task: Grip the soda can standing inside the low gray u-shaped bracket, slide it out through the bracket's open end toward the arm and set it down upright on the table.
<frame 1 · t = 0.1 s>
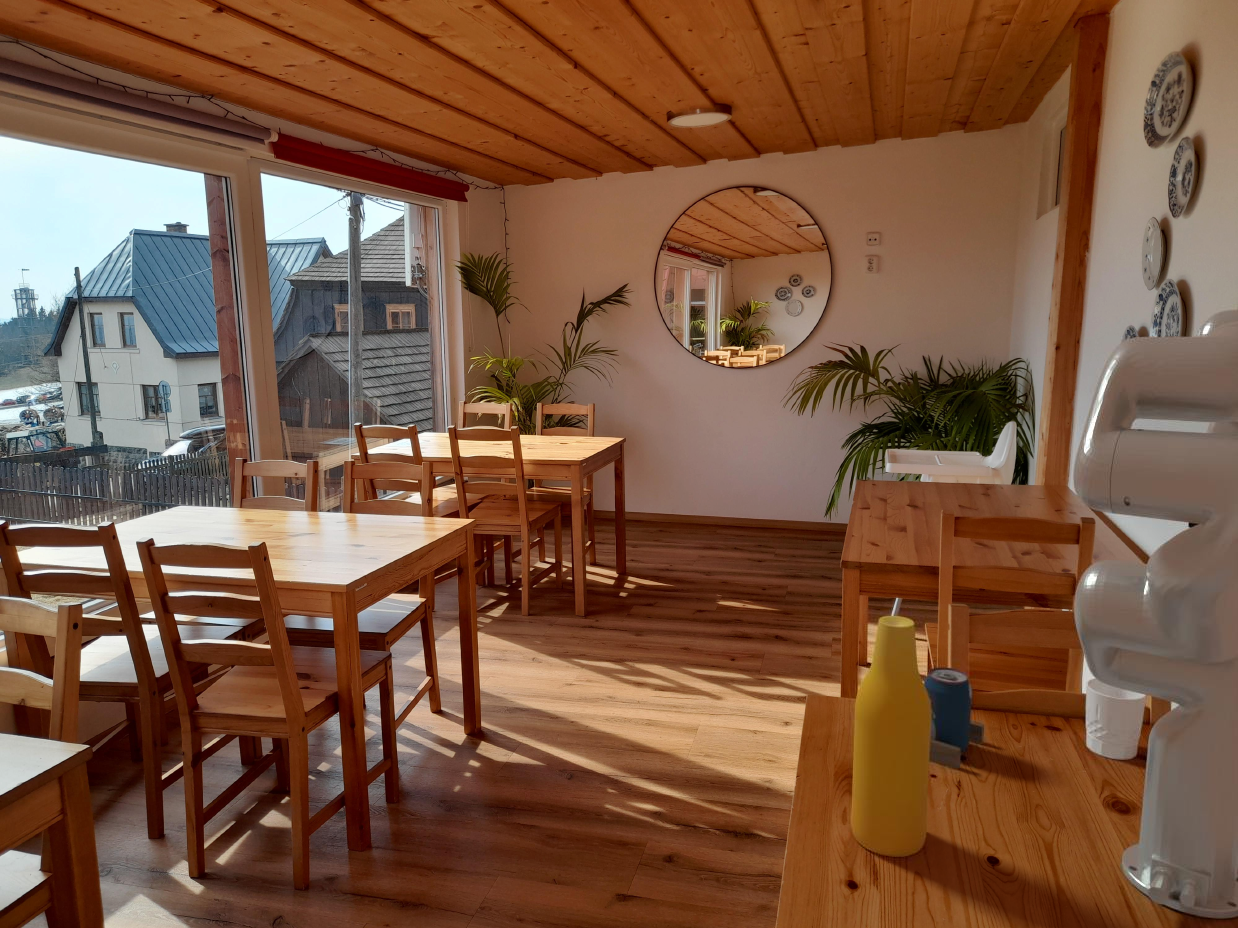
soda can: (944, 748, 131), on the table
yellow bottle: (887, 838, 108), on the table
gray u-shaped bracket: (941, 746, 131), on the table
white cup: (1110, 750, 129), on the table
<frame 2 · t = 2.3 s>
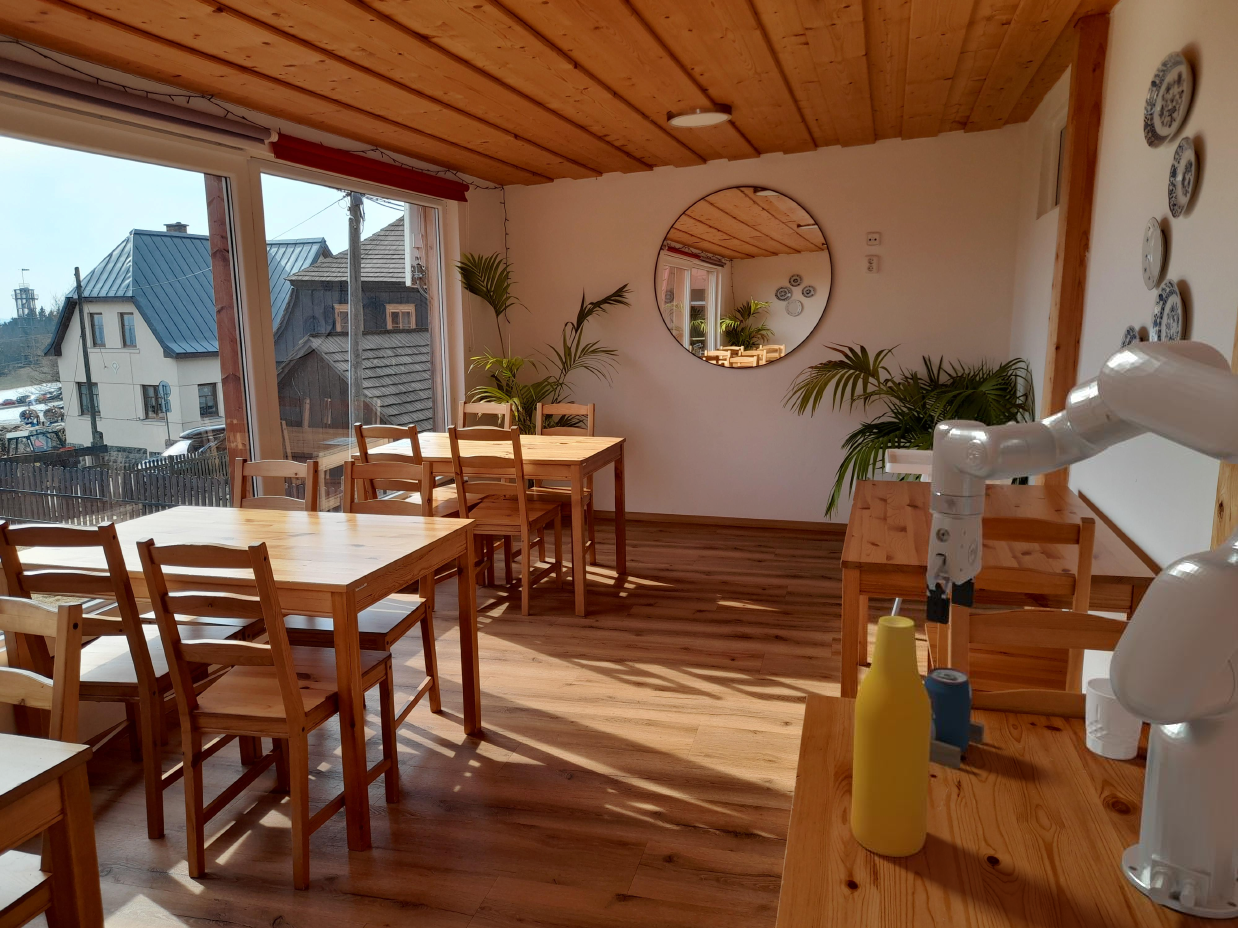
hand: (949, 613, 127), 22 cm above the table, tool pointing down, fingers open, 9 cm apart
nothing on the table moved.
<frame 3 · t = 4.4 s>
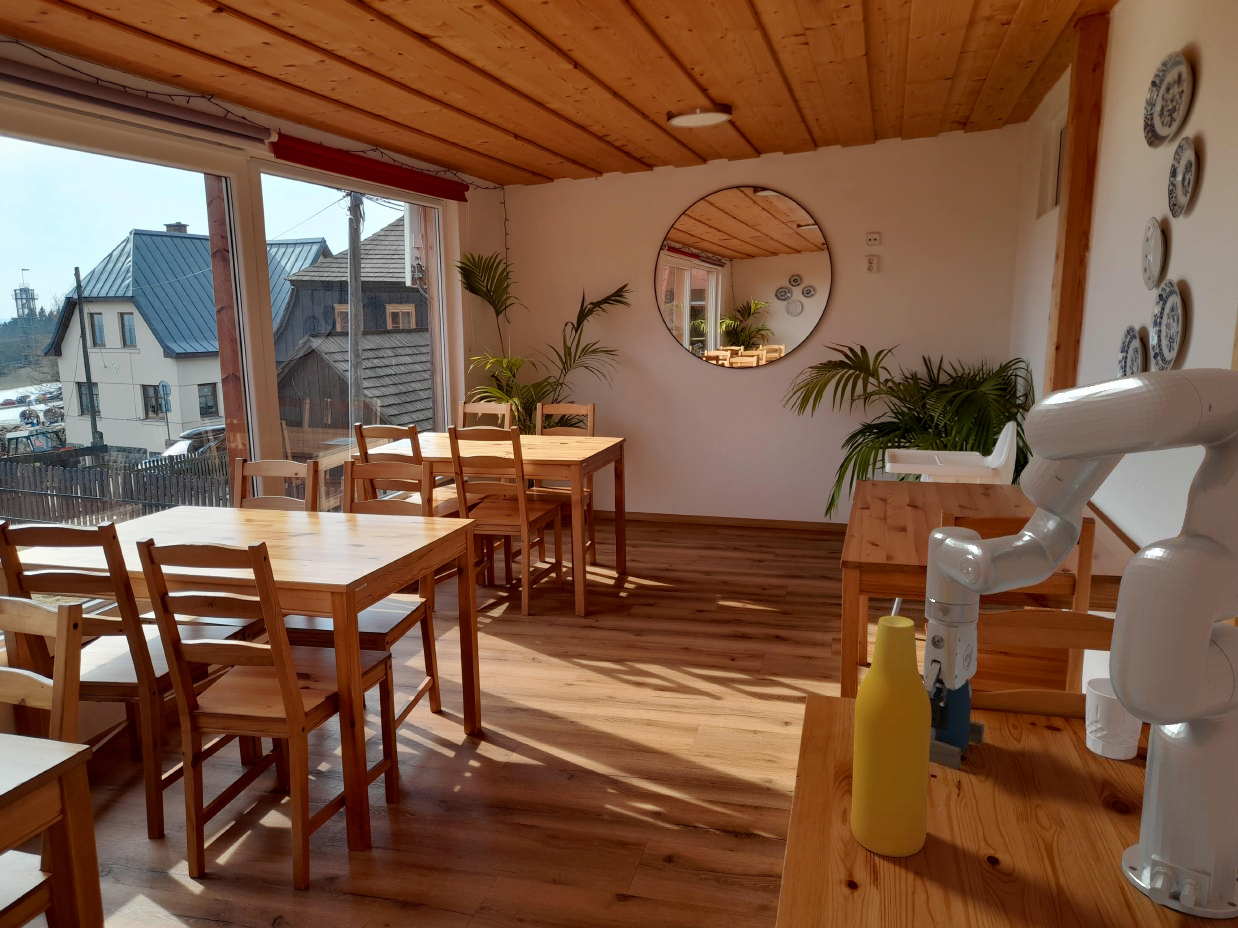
hand: (945, 717, 130), 5 cm above the table, tool pointing down, fingers closed on soda can, 7 cm apart
soda can: (944, 748, 131), on the table, touching gripper
everything else where it was.
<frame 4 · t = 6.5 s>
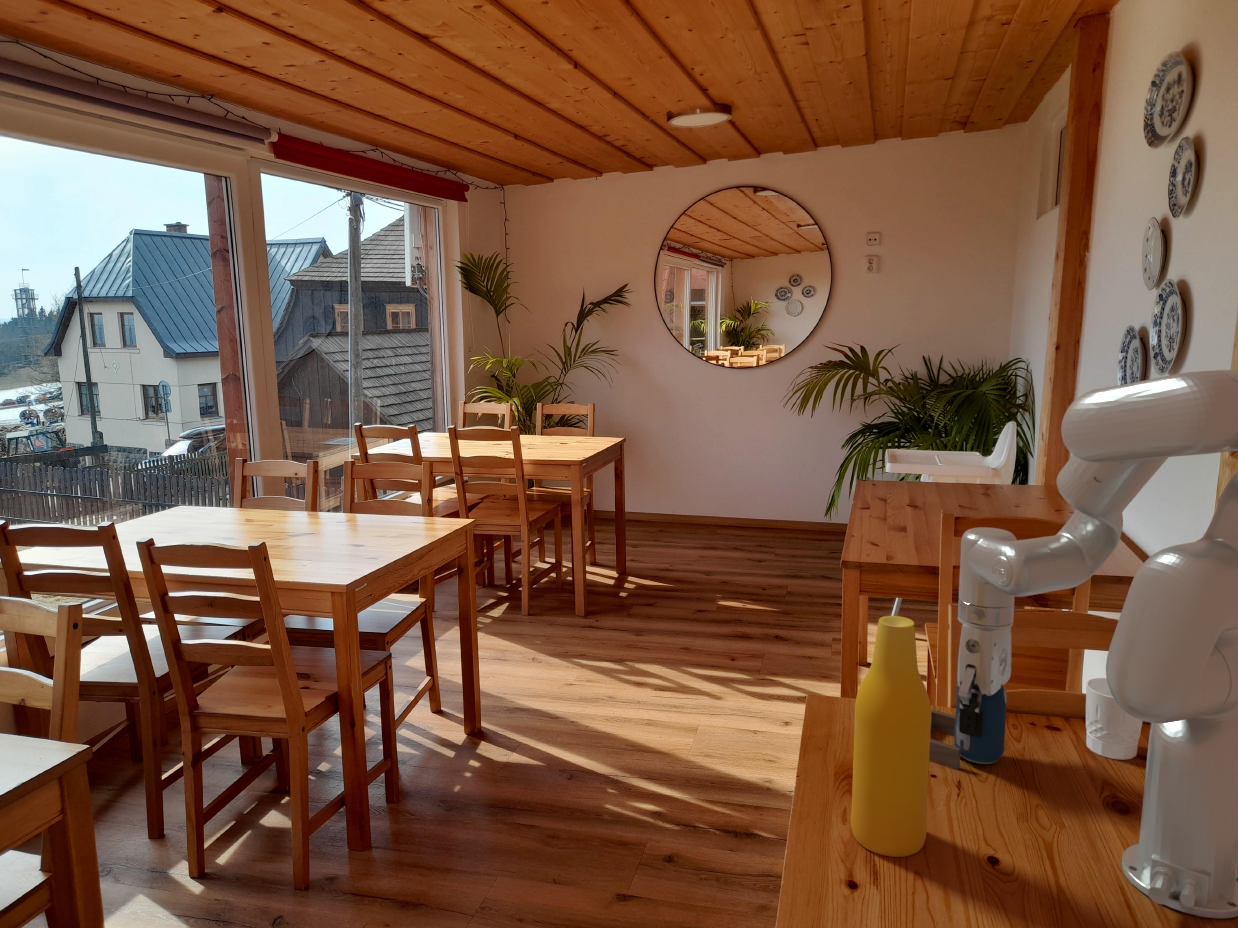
hand: (979, 724, 126), 5 cm above the table, tool pointing down, fingers closed on soda can, 7 cm apart
soda can: (978, 755, 127), on the table, touching gripper
everything else where it was.
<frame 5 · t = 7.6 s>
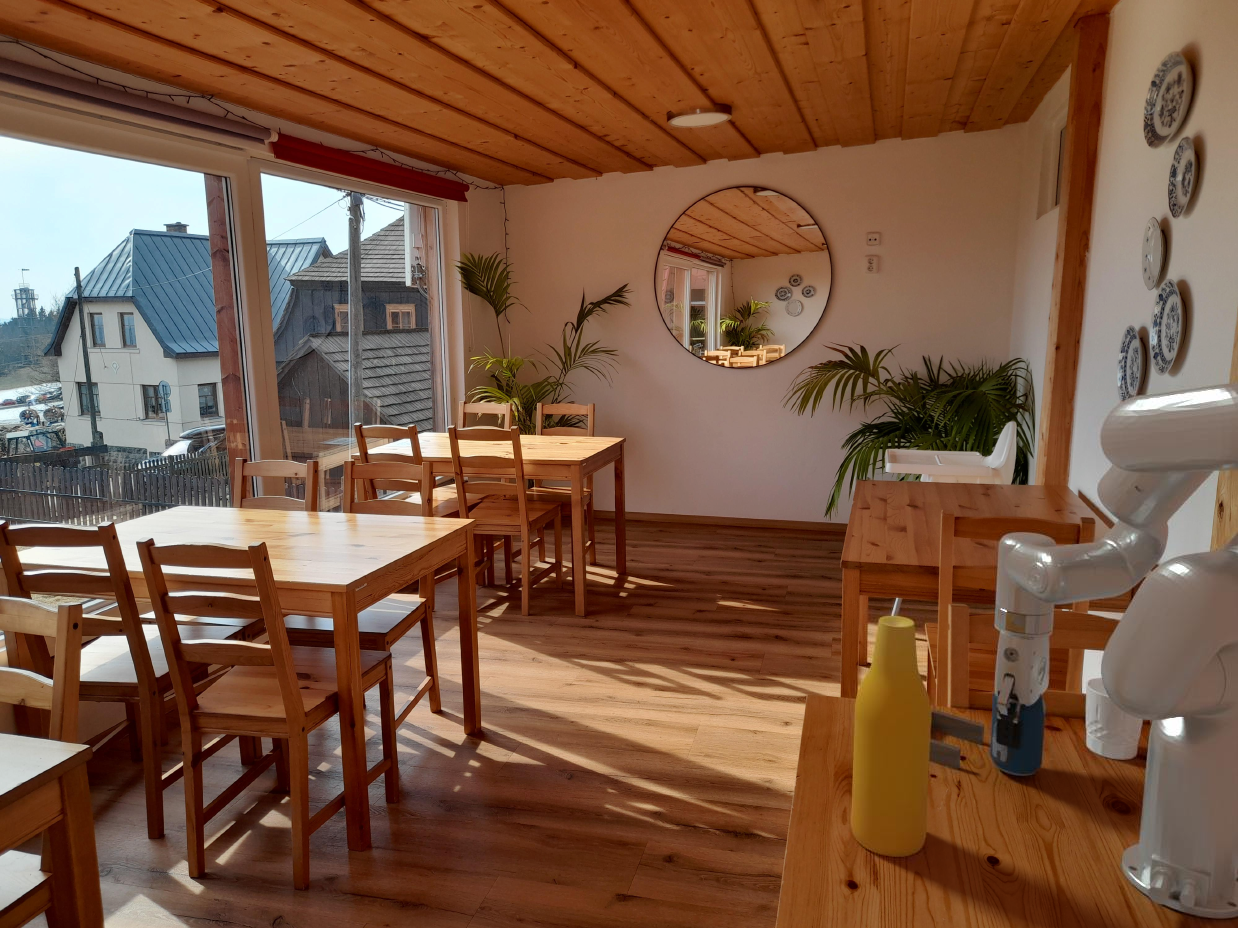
hand: (1016, 735, 123), 6 cm above the table, tool pointing down, fingers closed on soda can, 7 cm apart
soda can: (1015, 767, 123), point 1 cm above the table, touching gripper
everything else where it was.
when the fingers open (5 cm above the table, at t = 8.7 s): soda can stays where it is, on the table.
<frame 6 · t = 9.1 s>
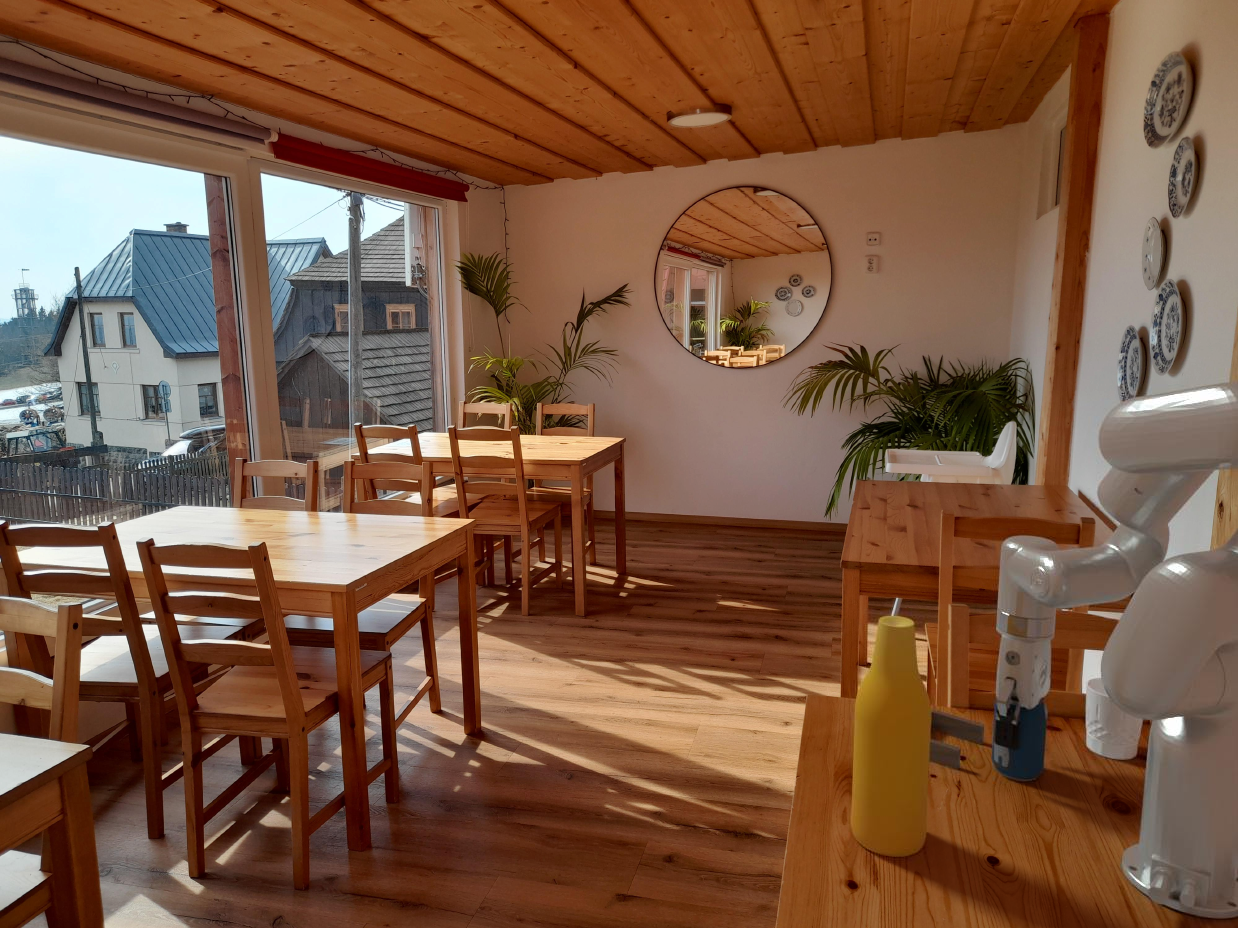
hand: (1018, 734, 123), 6 cm above the table, tool pointing down, fingers open, 9 cm apart
soda can: (1016, 772, 123), on the table
everything else where it was.
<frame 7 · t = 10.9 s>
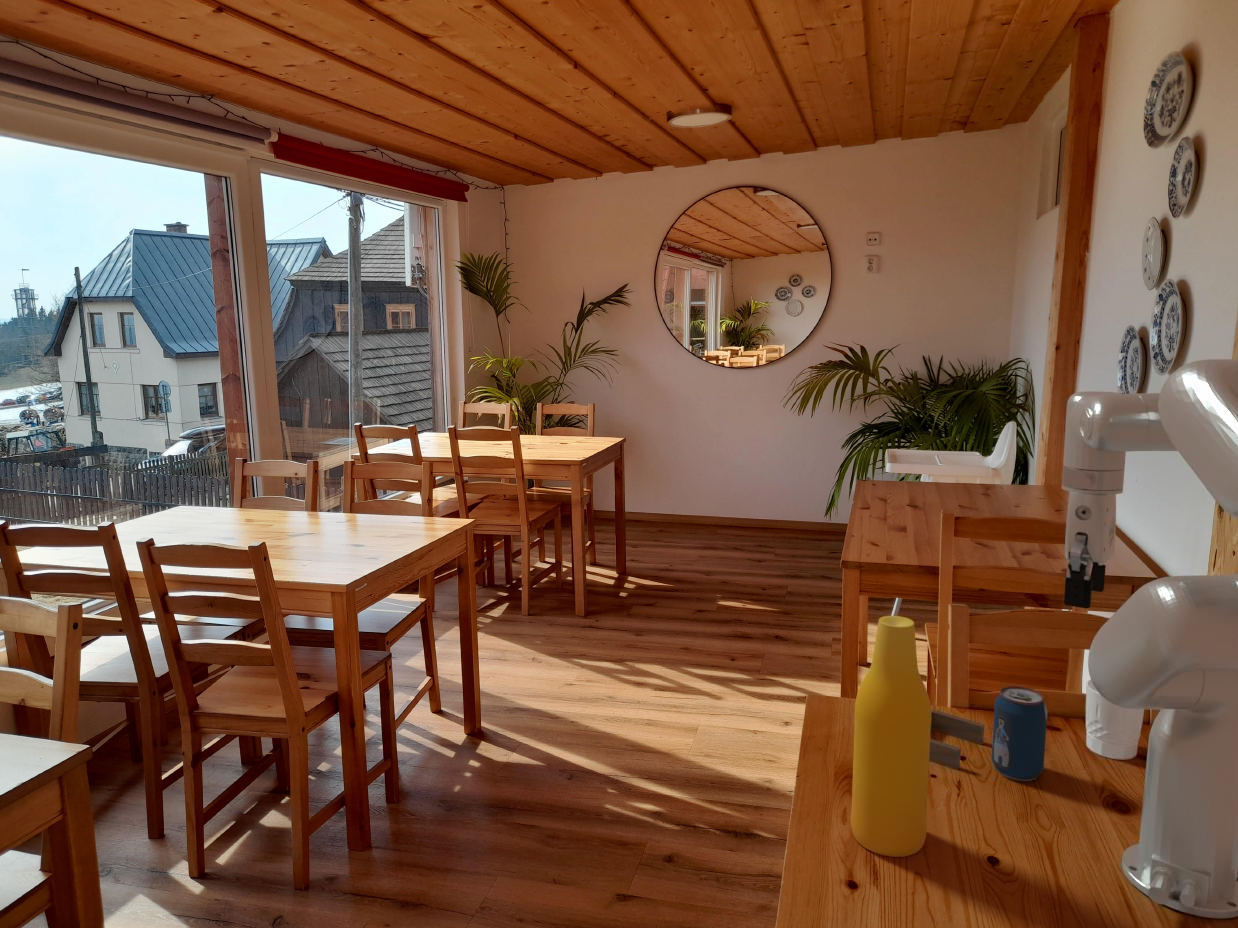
hand: (1084, 597, 120), 26 cm above the table, tool pointing down, fingers open, 9 cm apart
nothing on the table moved.
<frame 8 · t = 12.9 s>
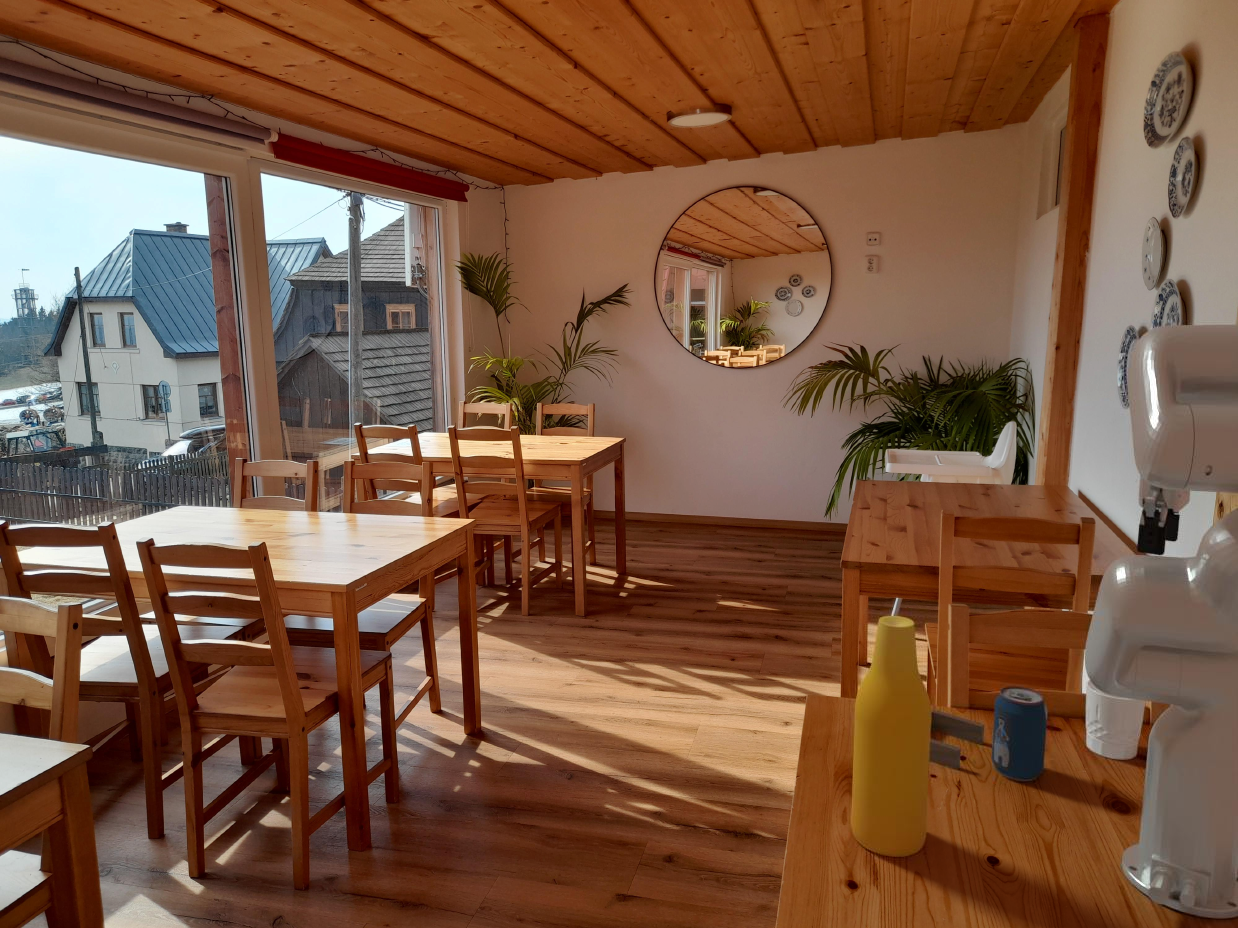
hand: (1157, 546, 120), 33 cm above the table, tool pointing down, fingers open, 9 cm apart
nothing on the table moved.
at the end: soda can inside the target area (0.4 cm from its centre), on the table; soda can tilted 0°; the gripper is holding nothing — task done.
